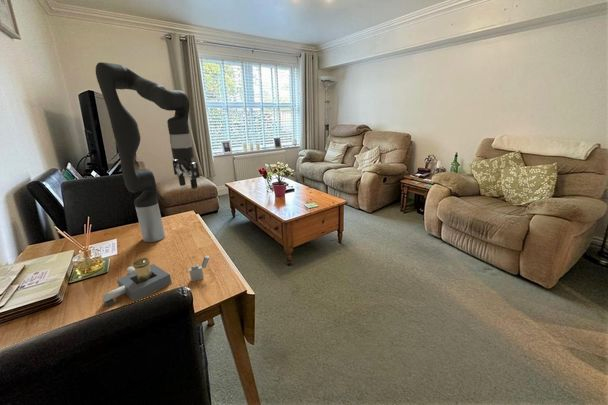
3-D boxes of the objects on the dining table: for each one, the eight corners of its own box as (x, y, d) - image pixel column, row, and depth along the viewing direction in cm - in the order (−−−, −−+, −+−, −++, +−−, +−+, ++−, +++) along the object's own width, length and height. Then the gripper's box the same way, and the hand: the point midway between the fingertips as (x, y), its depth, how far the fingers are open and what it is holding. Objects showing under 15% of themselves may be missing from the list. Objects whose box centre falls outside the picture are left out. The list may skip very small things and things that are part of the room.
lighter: (191, 281, 94) (187, 261, 92) (191, 278, 96) (187, 259, 93) (212, 276, 97) (209, 256, 95) (211, 273, 99) (208, 254, 96)
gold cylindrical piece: (136, 286, 92) (129, 262, 89) (150, 279, 96) (144, 256, 93) (142, 291, 90) (136, 267, 87) (157, 284, 93) (151, 260, 90)
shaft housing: (93, 292, 90) (90, 283, 89) (148, 267, 104) (146, 259, 103) (113, 312, 80) (110, 302, 79) (171, 282, 94) (169, 274, 93)
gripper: (162, 146, 104) (170, 186, 109) (182, 148, 96) (190, 191, 101) (180, 144, 110) (187, 182, 115) (201, 145, 102) (207, 187, 107)
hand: (188, 186), depth 108 cm, fingers open, 8 cm apart
